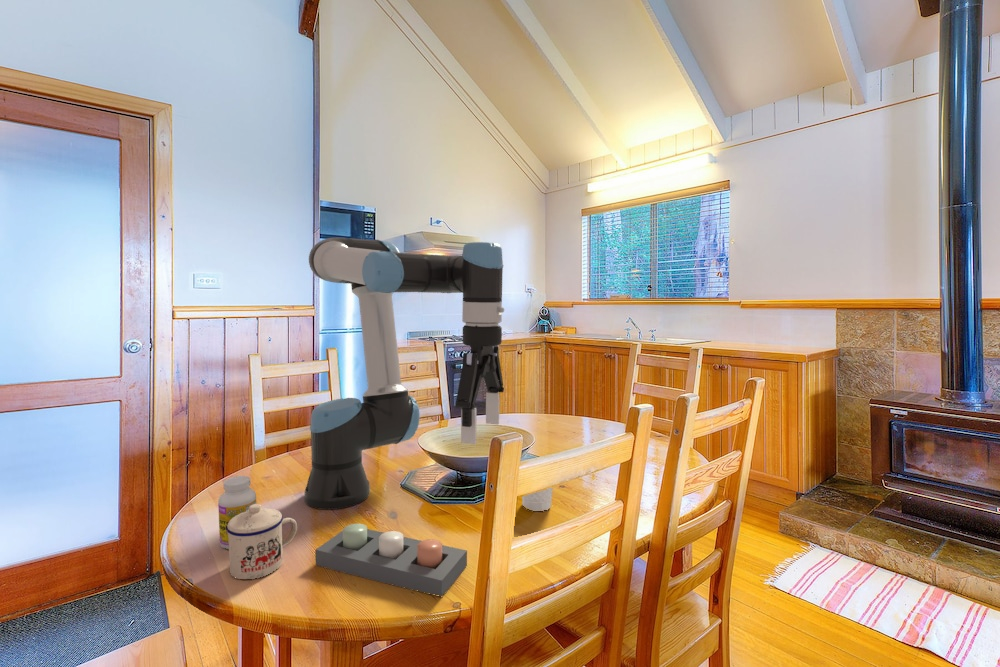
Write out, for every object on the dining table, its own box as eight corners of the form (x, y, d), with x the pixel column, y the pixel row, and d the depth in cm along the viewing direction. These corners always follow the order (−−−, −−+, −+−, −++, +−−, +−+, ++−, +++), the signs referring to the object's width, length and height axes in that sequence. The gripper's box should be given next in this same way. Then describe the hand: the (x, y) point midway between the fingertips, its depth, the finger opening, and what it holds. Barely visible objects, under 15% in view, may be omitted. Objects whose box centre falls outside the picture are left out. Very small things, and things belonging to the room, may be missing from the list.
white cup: (551, 515, 110) (552, 472, 110) (517, 511, 112) (518, 469, 111) (554, 500, 118) (555, 460, 117) (522, 497, 120) (523, 458, 119)
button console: (315, 565, 89) (315, 549, 89) (350, 539, 99) (350, 525, 98) (441, 597, 80) (441, 580, 80) (466, 565, 90) (467, 550, 89)
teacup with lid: (239, 588, 82) (236, 522, 81) (221, 567, 89) (218, 505, 87) (307, 560, 91) (306, 500, 90) (287, 542, 97) (285, 486, 96)
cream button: (374, 559, 88) (373, 540, 88) (387, 547, 92) (387, 529, 92) (395, 564, 87) (394, 545, 86) (408, 551, 91) (407, 533, 90)
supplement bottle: (211, 548, 95) (208, 484, 94) (237, 532, 101) (234, 472, 100) (241, 553, 93) (238, 488, 92) (265, 536, 100) (262, 475, 99)
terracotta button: (412, 568, 85) (412, 549, 85) (425, 555, 89) (425, 537, 89) (434, 573, 84) (434, 554, 83) (446, 560, 88) (446, 541, 88)
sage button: (338, 550, 91) (337, 532, 91) (352, 539, 95) (352, 522, 95) (357, 555, 89) (357, 536, 89) (371, 543, 93) (371, 526, 93)
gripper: (477, 330, 80) (477, 455, 82) (518, 321, 104) (517, 418, 106) (436, 328, 82) (436, 450, 84) (485, 320, 106) (484, 415, 108)
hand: (481, 432), depth 95 cm, fingers open, 13 cm apart
